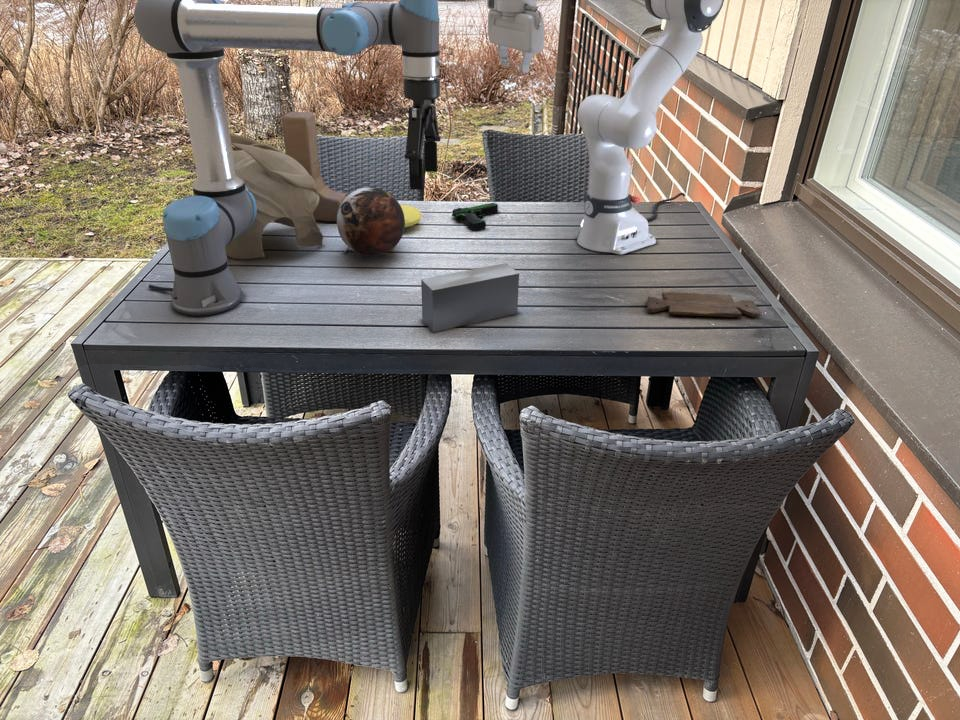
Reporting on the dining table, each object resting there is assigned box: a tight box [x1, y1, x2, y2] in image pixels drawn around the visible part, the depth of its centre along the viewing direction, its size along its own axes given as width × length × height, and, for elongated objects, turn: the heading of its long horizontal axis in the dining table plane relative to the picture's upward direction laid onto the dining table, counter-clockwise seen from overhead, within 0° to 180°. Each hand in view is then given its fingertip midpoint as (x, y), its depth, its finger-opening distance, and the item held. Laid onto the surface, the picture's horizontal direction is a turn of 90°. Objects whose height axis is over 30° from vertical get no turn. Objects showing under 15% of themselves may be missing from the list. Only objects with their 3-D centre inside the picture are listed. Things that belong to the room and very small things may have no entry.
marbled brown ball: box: [336, 186, 406, 257], centre depth 189 cm, size 22×18×20 cm
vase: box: [400, 204, 423, 229], centre depth 210 cm, size 16×16×7 cm
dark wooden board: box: [646, 291, 762, 318], centre depth 167 cm, size 26×2×10 cm
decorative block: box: [280, 111, 348, 223], centre depth 209 cm, size 8×15×30 cm, turn 82°
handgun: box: [451, 202, 499, 231], centre depth 216 cm, size 16×3×15 cm
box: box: [420, 262, 520, 333], centre depth 159 cm, size 21×6×10 cm, turn 117°
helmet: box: [225, 133, 324, 260], centre depth 189 cm, size 27×30×30 cm
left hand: (424, 180), depth 157 cm, fingers open, 13 cm apart
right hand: (514, 69), depth 165 cm, fingers open, 8 cm apart
